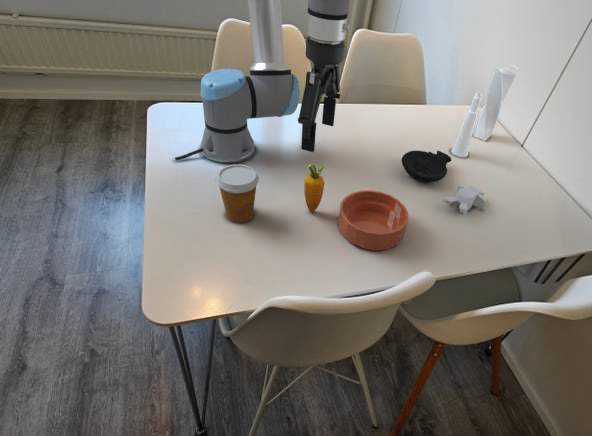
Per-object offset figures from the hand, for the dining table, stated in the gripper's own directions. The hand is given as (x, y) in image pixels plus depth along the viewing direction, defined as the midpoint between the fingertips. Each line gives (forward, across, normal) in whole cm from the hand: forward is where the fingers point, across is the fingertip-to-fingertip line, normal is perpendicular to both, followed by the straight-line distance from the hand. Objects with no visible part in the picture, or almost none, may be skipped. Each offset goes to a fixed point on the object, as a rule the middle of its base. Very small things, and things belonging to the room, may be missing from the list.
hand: (318, 136), depth 91 cm
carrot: (+23, 0, 0) cm, 23 cm away
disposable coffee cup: (+23, -8, +16) cm, 29 cm away
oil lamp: (+23, +34, -26) cm, 49 cm away
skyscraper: (+22, +72, -44) cm, 87 cm away
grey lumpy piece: (+23, +22, -39) cm, 50 cm away
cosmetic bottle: (+22, +54, -36) cm, 68 cm away
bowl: (+22, 0, -16) cm, 28 cm away
